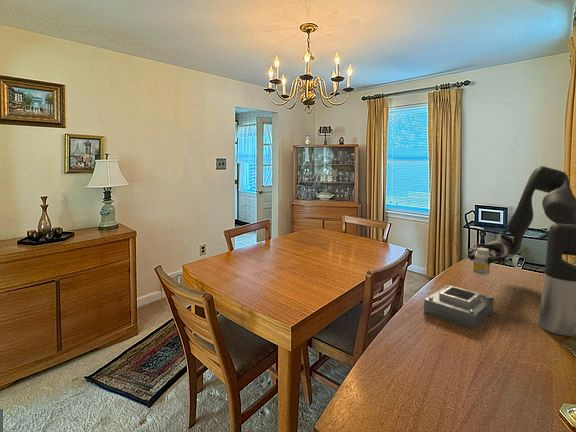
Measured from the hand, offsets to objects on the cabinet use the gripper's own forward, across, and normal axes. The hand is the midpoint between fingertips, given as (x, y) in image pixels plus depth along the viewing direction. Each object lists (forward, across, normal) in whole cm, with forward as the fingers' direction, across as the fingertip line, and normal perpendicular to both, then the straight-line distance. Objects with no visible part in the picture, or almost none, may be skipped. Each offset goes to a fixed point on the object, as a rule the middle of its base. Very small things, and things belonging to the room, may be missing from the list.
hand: (479, 259), depth 119 cm
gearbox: (+17, 0, +16) cm, 23 cm away
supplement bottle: (-3, 0, +6) cm, 7 cm away
